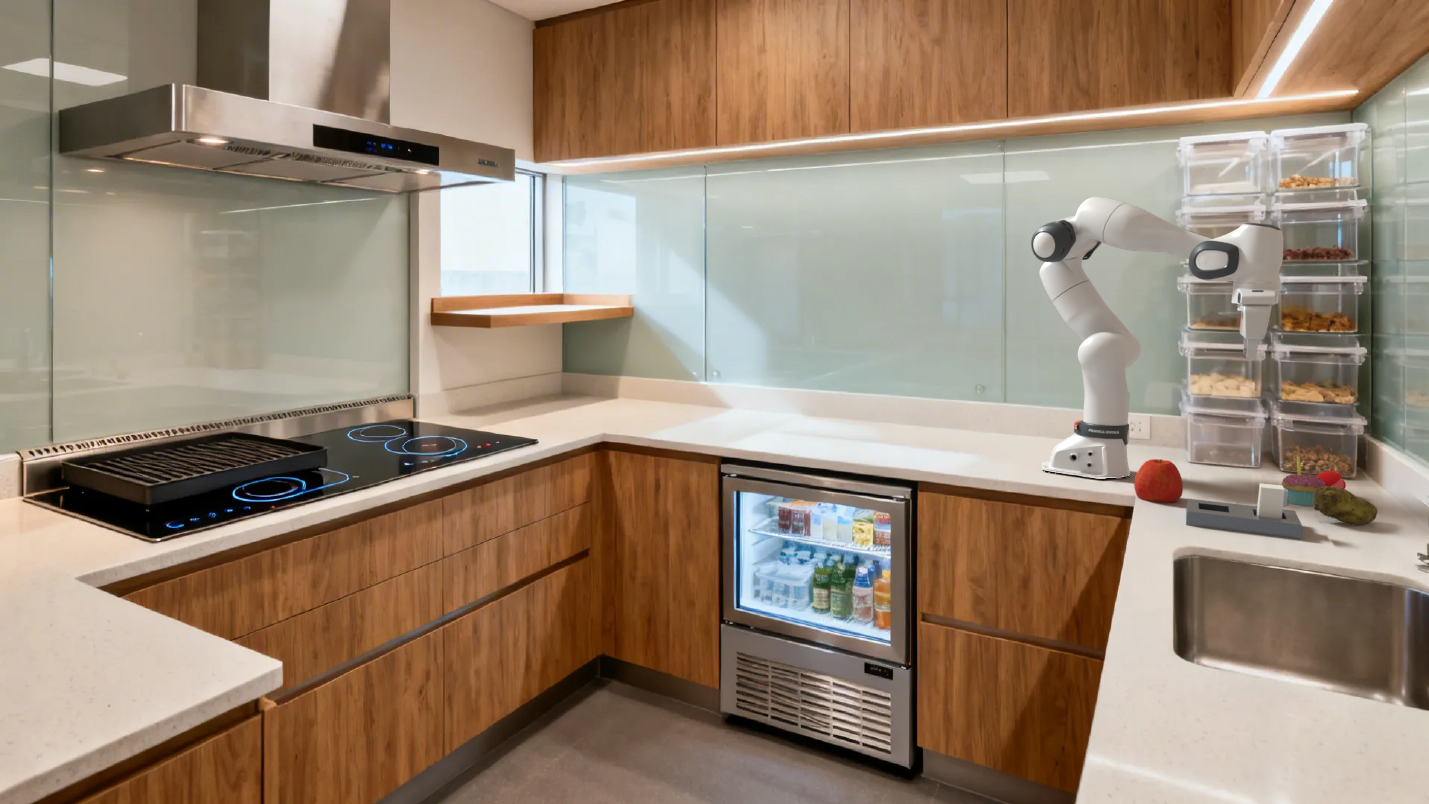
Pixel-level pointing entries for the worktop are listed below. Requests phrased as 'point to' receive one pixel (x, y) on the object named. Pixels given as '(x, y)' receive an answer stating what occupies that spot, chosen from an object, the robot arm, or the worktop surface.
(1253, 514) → the panel
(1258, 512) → the plug
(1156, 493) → the apple
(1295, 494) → the cupcake
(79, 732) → the worktop surface
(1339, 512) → the potato
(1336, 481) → the cap
